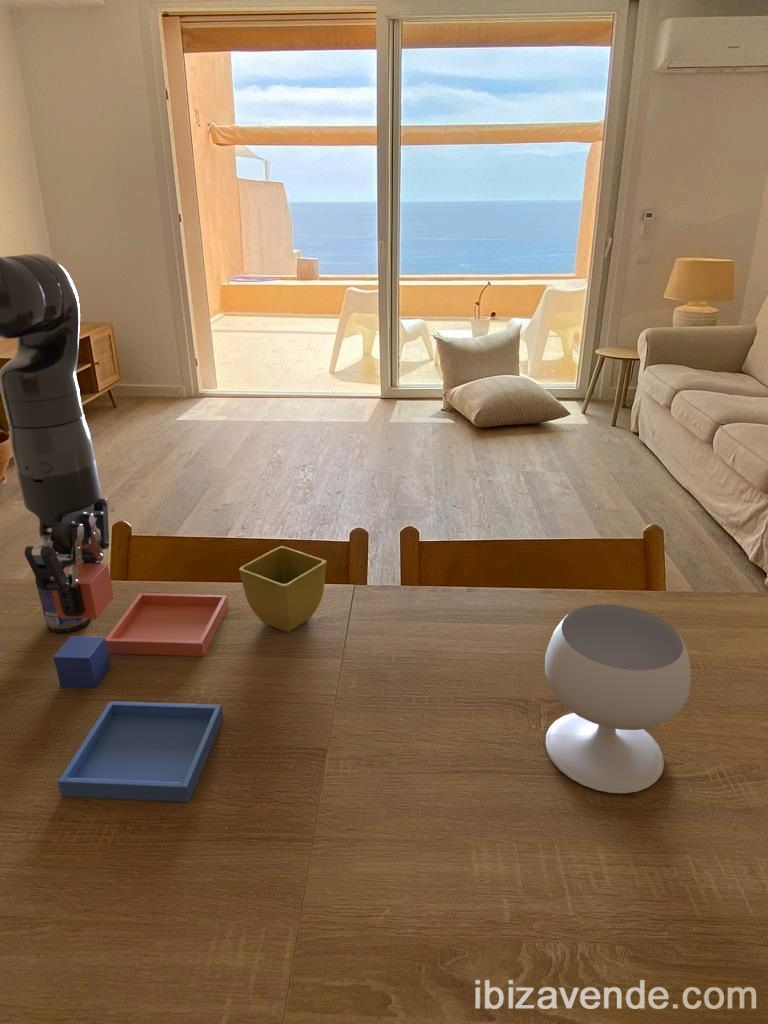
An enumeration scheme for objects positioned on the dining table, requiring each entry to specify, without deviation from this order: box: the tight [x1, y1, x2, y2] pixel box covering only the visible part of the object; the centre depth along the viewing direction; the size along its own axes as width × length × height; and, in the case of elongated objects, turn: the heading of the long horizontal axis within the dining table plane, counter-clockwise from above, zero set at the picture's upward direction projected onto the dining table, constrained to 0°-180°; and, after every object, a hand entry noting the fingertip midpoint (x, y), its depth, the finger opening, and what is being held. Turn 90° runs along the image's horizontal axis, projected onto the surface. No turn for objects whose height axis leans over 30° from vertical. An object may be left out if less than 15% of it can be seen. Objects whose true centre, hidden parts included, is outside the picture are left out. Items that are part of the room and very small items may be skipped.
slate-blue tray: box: [57, 700, 224, 803], centre depth 75 cm, size 13×12×2 cm
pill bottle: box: [34, 554, 93, 634], centre depth 97 cm, size 6×6×11 cm
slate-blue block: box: [52, 635, 112, 689], centre depth 87 cm, size 4×4×4 cm
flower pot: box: [238, 545, 327, 633], centre depth 97 cm, size 9×9×9 cm
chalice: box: [544, 603, 692, 794], centre depth 71 cm, size 14×14×15 cm
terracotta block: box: [52, 563, 115, 620], centre depth 78 cm, size 4×4×4 cm
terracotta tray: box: [105, 592, 229, 657], centre depth 97 cm, size 13×12×2 cm
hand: (85, 601), depth 79 cm, fingers closed on terracotta block, 4 cm apart
